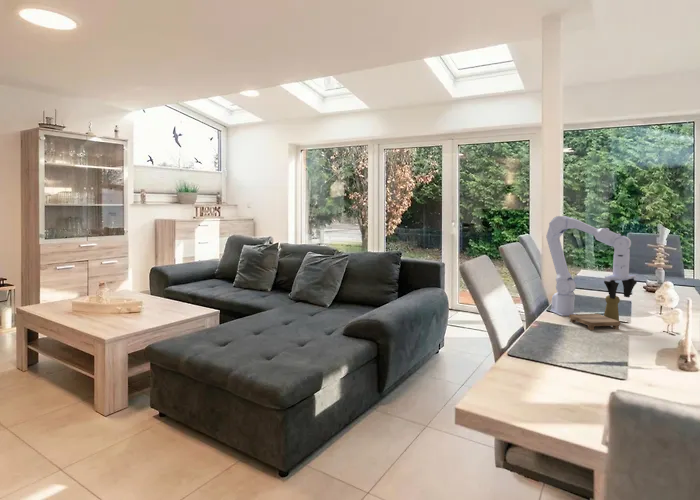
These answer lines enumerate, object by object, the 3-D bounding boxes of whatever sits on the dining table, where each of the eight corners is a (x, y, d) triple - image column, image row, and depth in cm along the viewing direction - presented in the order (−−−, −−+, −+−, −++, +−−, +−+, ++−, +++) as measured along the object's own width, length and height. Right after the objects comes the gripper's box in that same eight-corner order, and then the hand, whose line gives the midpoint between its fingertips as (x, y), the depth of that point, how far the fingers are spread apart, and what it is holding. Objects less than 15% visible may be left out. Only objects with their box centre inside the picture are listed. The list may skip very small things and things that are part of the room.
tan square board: (569, 321, 188) (569, 314, 188) (596, 320, 191) (597, 313, 190) (590, 330, 176) (590, 322, 175) (619, 329, 178) (620, 321, 177)
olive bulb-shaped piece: (621, 323, 186) (623, 297, 185) (605, 322, 188) (607, 296, 186) (616, 319, 192) (617, 294, 191) (600, 318, 193) (602, 293, 192)
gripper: (615, 267, 180) (614, 300, 181) (643, 265, 184) (641, 298, 185) (601, 265, 187) (599, 297, 188) (628, 263, 191) (626, 295, 192)
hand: (619, 297), depth 187 cm, fingers open, 7 cm apart
